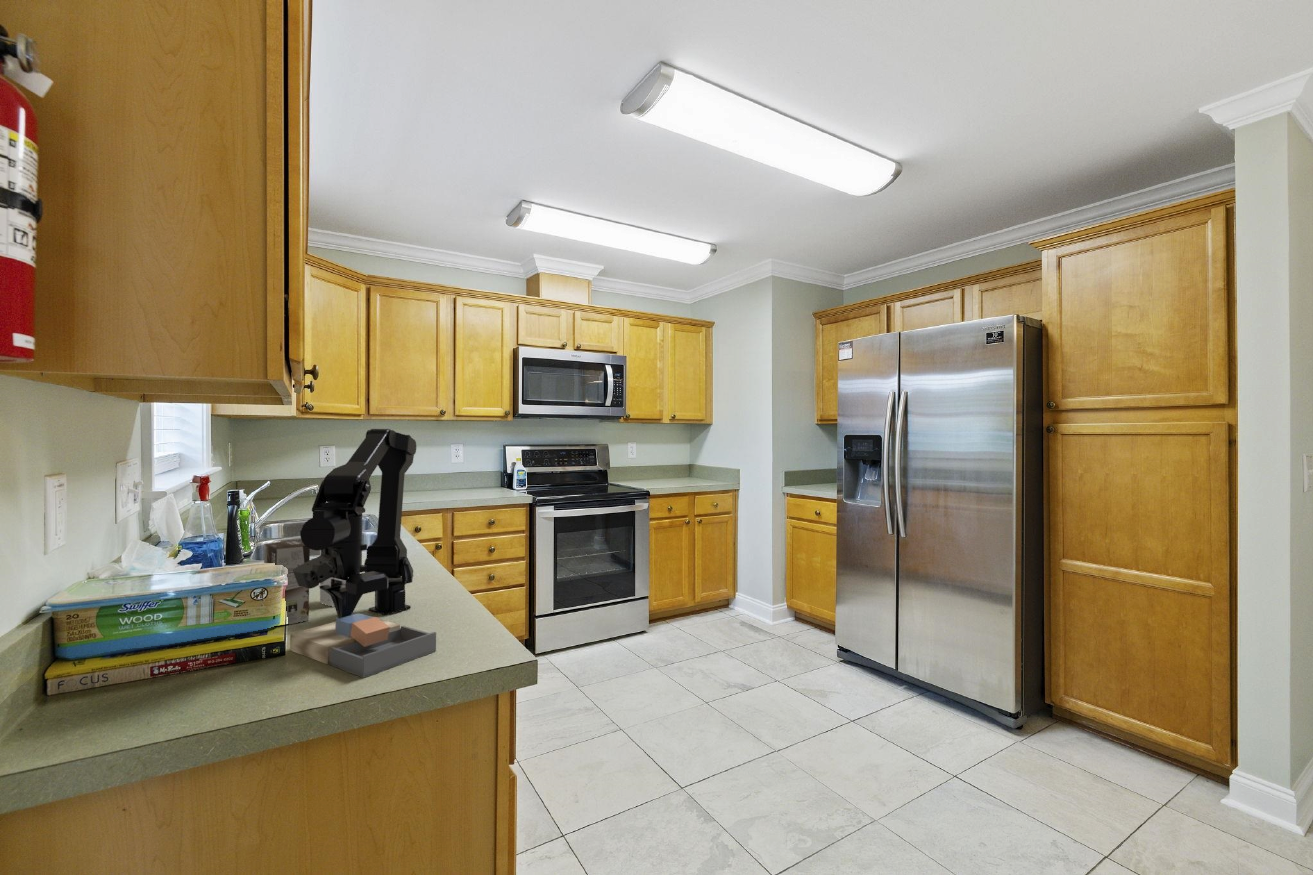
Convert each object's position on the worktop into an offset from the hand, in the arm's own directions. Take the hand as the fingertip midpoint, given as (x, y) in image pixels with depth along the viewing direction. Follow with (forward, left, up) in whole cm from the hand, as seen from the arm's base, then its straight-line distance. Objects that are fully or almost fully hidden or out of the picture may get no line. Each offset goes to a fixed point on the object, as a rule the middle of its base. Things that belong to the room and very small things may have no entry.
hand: (344, 622), depth 111 cm
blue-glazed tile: (+3, 0, -1) cm, 3 cm away
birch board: (+1, 0, -4) cm, 4 cm away
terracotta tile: (+8, 0, -1) cm, 8 cm away
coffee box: (-24, +2, -4) cm, 25 cm away
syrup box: (-27, +15, -4) cm, 31 cm away
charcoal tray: (+12, 0, -4) cm, 13 cm away
